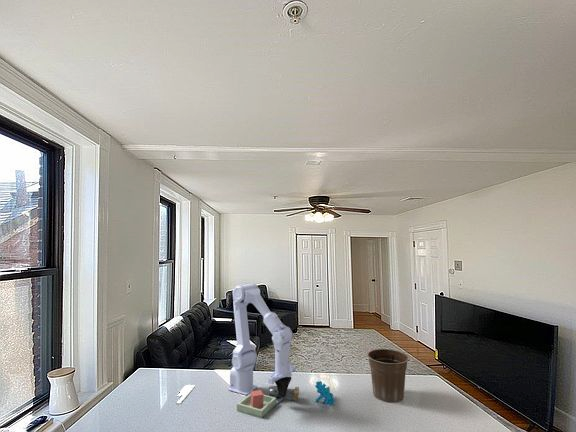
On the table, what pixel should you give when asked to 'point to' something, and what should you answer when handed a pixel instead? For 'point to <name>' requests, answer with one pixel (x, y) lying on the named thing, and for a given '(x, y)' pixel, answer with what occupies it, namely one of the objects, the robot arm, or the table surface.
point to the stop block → (257, 399)
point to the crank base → (277, 399)
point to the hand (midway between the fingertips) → (282, 396)
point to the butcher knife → (185, 392)
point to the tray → (246, 408)
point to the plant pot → (388, 374)
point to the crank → (290, 393)
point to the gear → (324, 393)
